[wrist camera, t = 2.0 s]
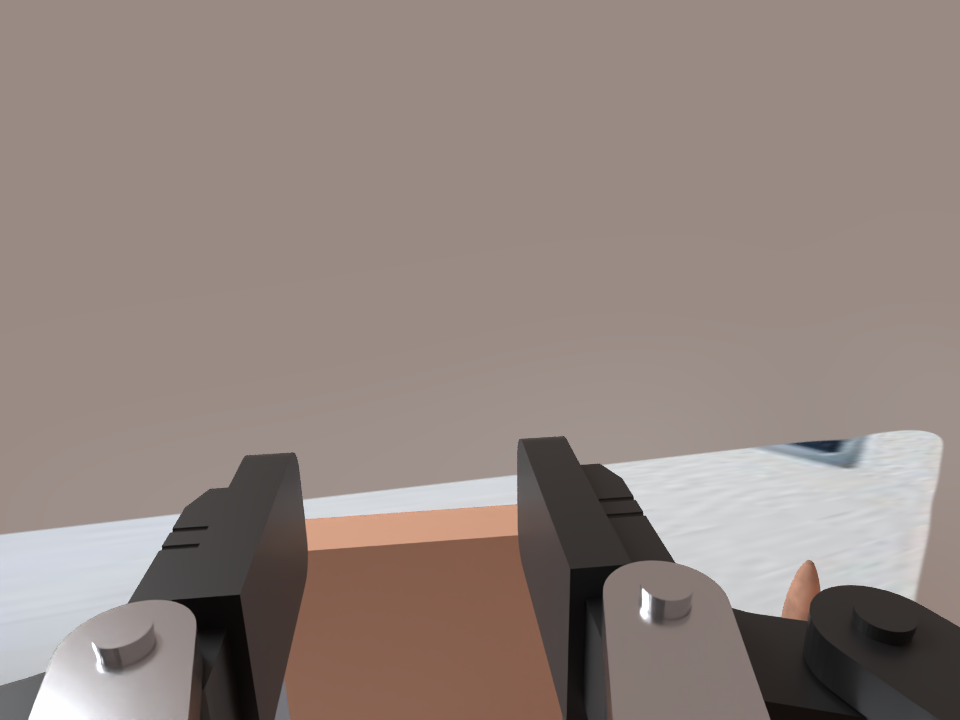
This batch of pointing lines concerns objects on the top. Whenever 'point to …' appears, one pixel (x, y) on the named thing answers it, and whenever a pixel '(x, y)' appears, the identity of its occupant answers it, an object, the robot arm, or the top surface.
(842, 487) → the top surface
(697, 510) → the top surface
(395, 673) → the tile
